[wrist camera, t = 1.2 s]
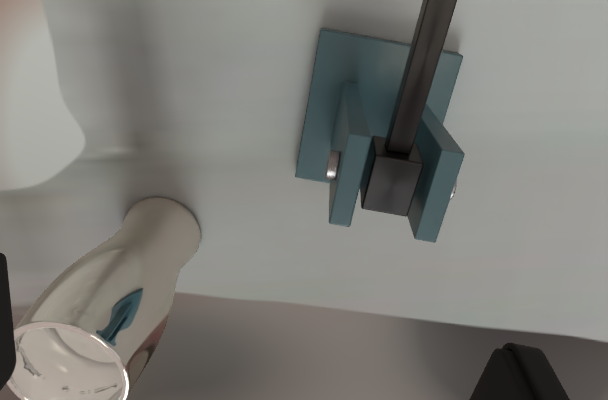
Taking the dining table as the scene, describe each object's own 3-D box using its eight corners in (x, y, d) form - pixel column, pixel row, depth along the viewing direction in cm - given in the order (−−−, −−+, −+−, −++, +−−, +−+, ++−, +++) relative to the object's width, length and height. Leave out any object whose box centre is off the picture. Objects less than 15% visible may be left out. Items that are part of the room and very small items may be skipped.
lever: (392, -96, 18) (399, -100, 16) (520, -72, 18) (544, -72, 16) (332, 180, 24) (331, 203, 22) (428, 197, 24) (436, 222, 22)
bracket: (321, 27, 30) (312, 55, 18) (459, 53, 30) (537, 96, 19) (296, 171, 34) (276, 267, 23) (417, 193, 34) (459, 299, 23)
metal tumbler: (206, 195, 36) (126, 326, 22) (207, 273, 38) (138, 431, 25) (114, 187, 36) (-21, 312, 22) (123, 265, 39) (8, 418, 25)
